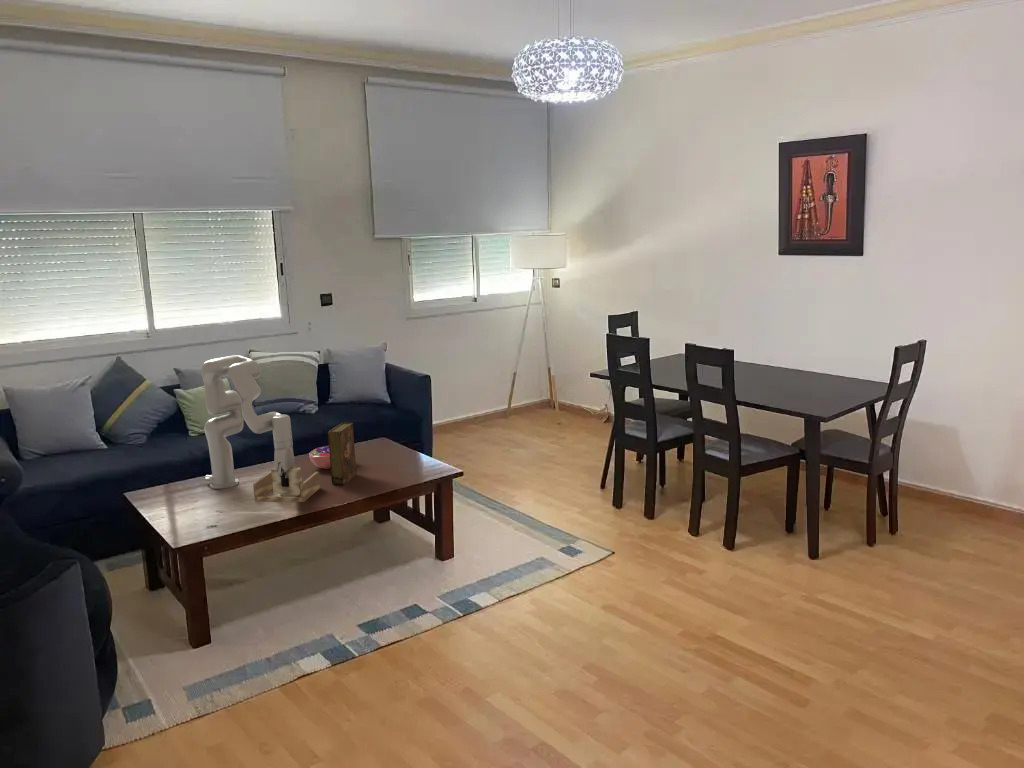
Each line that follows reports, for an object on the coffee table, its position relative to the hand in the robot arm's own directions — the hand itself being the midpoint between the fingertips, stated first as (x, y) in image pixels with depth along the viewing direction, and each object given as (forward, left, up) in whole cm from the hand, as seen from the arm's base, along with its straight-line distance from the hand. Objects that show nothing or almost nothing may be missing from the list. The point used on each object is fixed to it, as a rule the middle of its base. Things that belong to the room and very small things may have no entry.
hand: (287, 484), depth 330 cm
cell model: (+1, +45, -7) cm, 46 cm away
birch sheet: (0, 0, -4) cm, 4 cm away
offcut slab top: (-1, +6, -6) cm, 9 cm away
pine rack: (-3, +6, -7) cm, 9 cm away
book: (+15, +27, -7) cm, 32 cm away
